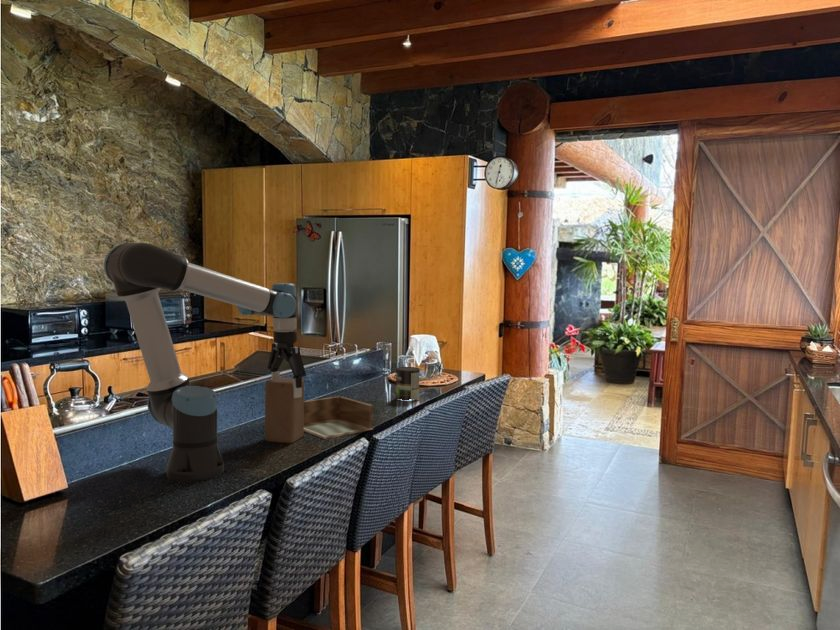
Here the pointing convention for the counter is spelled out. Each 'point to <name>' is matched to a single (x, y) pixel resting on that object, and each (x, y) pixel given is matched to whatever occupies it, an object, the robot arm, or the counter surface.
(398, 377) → the coffee can
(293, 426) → the wooden block
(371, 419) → the corner arena
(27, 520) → the counter surface
